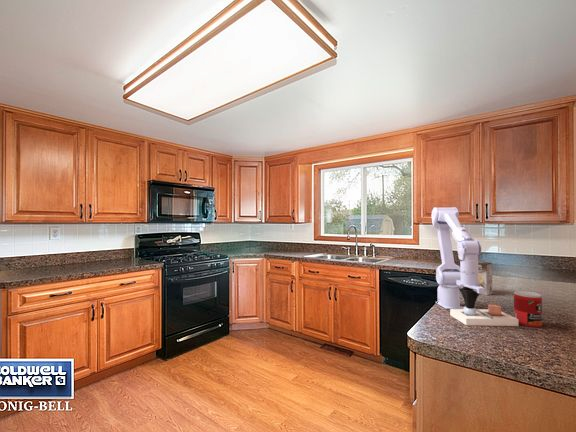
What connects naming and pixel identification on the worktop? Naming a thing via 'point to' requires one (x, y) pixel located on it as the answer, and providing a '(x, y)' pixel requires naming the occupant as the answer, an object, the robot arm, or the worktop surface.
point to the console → (484, 318)
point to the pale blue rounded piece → (469, 311)
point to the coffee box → (485, 276)
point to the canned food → (528, 308)
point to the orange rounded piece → (494, 310)
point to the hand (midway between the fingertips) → (469, 308)
